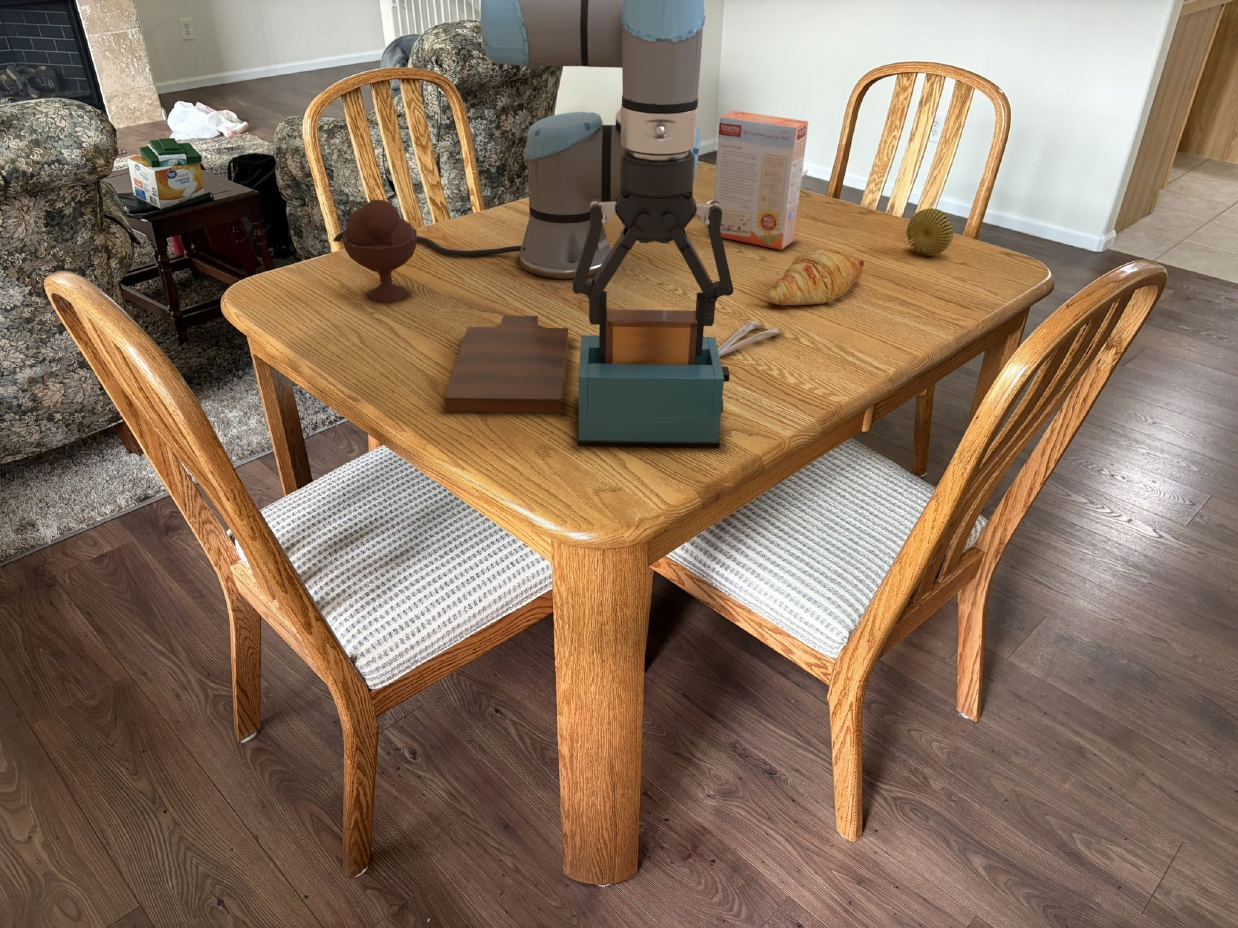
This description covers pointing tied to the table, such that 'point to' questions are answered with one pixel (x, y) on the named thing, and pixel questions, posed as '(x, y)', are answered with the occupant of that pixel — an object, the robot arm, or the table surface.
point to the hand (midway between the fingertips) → (650, 350)
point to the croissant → (816, 278)
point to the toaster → (650, 400)
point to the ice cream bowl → (380, 244)
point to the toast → (651, 337)
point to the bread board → (509, 368)
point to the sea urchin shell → (930, 232)
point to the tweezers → (752, 325)
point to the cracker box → (759, 177)
